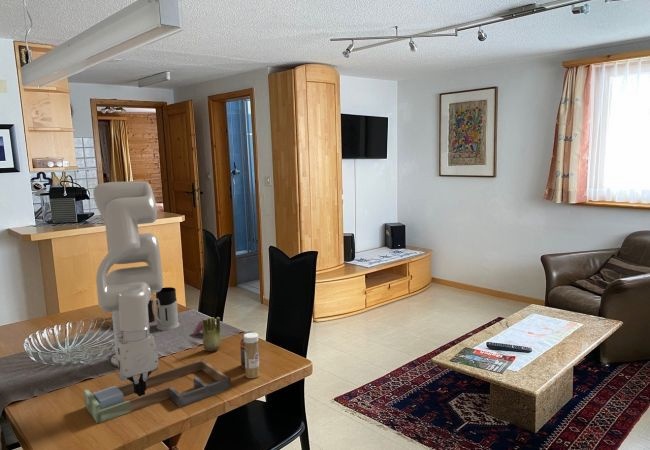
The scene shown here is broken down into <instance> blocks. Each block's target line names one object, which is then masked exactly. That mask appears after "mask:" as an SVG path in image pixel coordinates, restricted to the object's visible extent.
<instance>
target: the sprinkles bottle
mask: <svg viewBox="0 0 650 450" xmlns="http://www.w3.org/2000/svg"><path fill="white" fill-rule="evenodd" d="M258 341H259V334H258V333H257V332H255V333H247V334H245V335H244V349H245V350H244V354H245V369H244V370H245V377H246V378H247V379H256V378H258V377H259V376H260V374H261V372H260V351H259V352H258Z"/></svg>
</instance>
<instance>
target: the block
mask: <svg viewBox="0 0 650 450" xmlns="http://www.w3.org/2000/svg"><path fill="white" fill-rule="evenodd" d="M117 387H118V386H117V385H113V386H110V387H107V388H104V389H100V390H98V391H94V392H93V393H92V395H93V396H94V398H95V399H96V400H97V401H98V403H99V404H100V409H104V408H107V407H110V406H113V405H116V404H119V403H122V402H125V400H124V398H125V397H124V396H123V393H122V392H121V391H120V390H119V389H118V388H117Z"/></svg>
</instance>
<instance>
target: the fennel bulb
mask: <svg viewBox="0 0 650 450" xmlns="http://www.w3.org/2000/svg"><path fill="white" fill-rule="evenodd" d="M210 319H211V321H210ZM207 320H208V324H207ZM215 321H216V325H215ZM211 323H212V328H211ZM203 325H204V333H203V334H202V335H203V337H202V344H203V345H202V346H203V348H204V349H205V351H207V352H216V351H218V350H219V349H220V348H221V345H222V333H221V332H222V331H221V317H219V316H217V317H216V318H215V317H214V316H213V317H211V318H210V317H208V318H203Z"/></svg>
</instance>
